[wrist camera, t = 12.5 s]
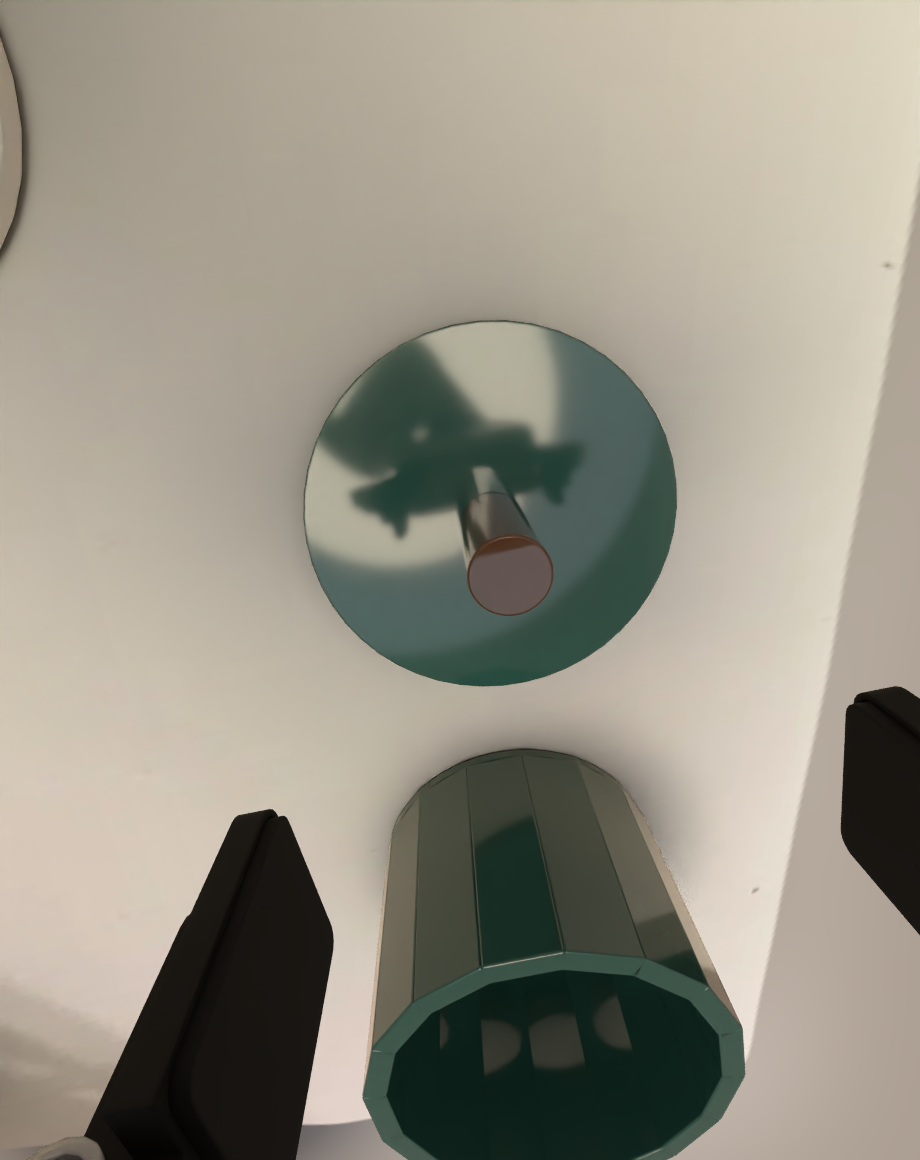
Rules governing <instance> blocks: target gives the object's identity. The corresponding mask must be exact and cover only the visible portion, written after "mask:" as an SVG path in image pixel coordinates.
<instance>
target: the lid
mask: <svg viewBox="0 0 920 1160" xmlns="http://www.w3.org/2000/svg"><path fill="white" fill-rule="evenodd" d="M676 509H677V494H676V478H675V471H674V464H673V458H672V455H671V452H670V448H669V445H668V442H667V438H666V435H665V433H664V431H663V429H662V426H661V424H660V422H659V420H658V418H657V415H656V413H655V412H654V410H653V409H652V407H651V405H650V404H649V402H648V401H647V399H646V398H645V396H644V395H643V393H642V392H641V390H640V389H639V388H638V387H637V386H636V385H635V383H634V382H633V381H632V380H631V379H630V378H629V377H628V375H627V374H626V373H625V372H624V371H623V370H621V369H620V368H619V367H618V366H617V365H616V364H614V363H613V362H612V361H611V360H610V359H609V358H607V357H606V356H605V355H603V354H602V353H600V352H599V351H597V350H596V349H594V348H592V347H591V346H589V345H588V344H586V343H584V342H583V341H581V340H578V339H576V338H574V337H571V336H569V335H567V334H565V333H562V332H560V331H557V330H554V329H550V328H547V327H543V326H539V325H536V324H532V323H524V322H516V321H508V320H490V321H473V322H467V323H461V324H455V325H450V326H447V327H444V328H440V329H437V330H434V331H431V332H428V333H425V334H423V335H420V336H418V337H416V338H414V339H412V340H410V341H408V342H406V343H404V344H402V345H400V346H398V347H397V348H395V349H394V350H392V351H391V352H389V353H388V354H386V355H385V356H383V357H382V358H380V359H379V360H377V361H376V362H375V363H374V364H373V365H372V366H370V367H369V368H368V369H367V370H366V371H365V372H364V373H363V374H361V375H360V376H359V377H358V378H357V379H356V380H355V381H354V383H353V384H352V385H351V386H350V387H349V388H348V390H347V391H346V392H345V393H344V394H343V395H342V397H341V398H340V399H339V401H338V402H337V404H336V405H335V407H334V409H333V410H332V412H331V413H330V415H329V416H328V418H327V420H326V421H325V423H324V426H323V428H322V430H321V432H320V434H319V437H318V439H317V441H316V443H315V446H314V449H313V453H312V456H311V459H310V463H309V466H308V470H307V477H306V483H305V490H304V526H305V534H306V542H307V546H308V550H309V553H310V557H311V561H312V565H313V567H314V570H315V572H316V575H317V577H318V580H319V582H320V584H321V587H322V588H323V590H324V592H325V594H326V595H327V597H328V599H329V601H330V602H331V604H332V606H333V607H334V608H335V610H336V611H337V612H338V614H339V615H340V616H341V618H342V619H343V620H344V622H345V623H346V624H347V625H348V626H349V627H350V628H351V629H352V630H353V631H354V632H355V633H356V634H357V635H358V636H359V637H360V639H361V640H363V641H364V642H365V643H366V644H368V645H369V646H370V647H371V648H373V649H374V650H375V651H377V652H378V653H379V654H381V655H382V656H384V657H386V658H387V659H389V660H390V661H392V662H394V663H395V664H397V665H399V666H401V667H403V668H406V669H408V670H410V671H412V672H414V673H417V674H419V675H422V676H426V677H429V678H432V679H435V680H438V681H443V682H448V683H453V684H459V685H470V686H503V685H510V684H516V683H523V682H527V681H531V680H535V679H538V678H542V677H546V676H548V675H551V674H553V673H556V672H558V671H561V670H563V669H566V668H568V667H570V666H571V665H573V664H575V663H577V662H579V661H581V660H583V659H585V658H586V657H588V656H589V655H591V654H592V653H593V652H595V651H596V650H598V649H599V648H601V647H602V646H604V645H605V644H606V643H607V642H608V641H609V640H610V639H612V638H613V637H614V636H615V635H616V634H617V633H618V632H620V631H621V630H622V628H623V627H624V626H625V625H626V624H627V623H628V622H629V621H630V620H631V619H632V617H633V616H634V615H635V614H636V613H637V611H638V610H639V609H640V607H641V606H642V604H643V603H644V601H645V600H646V599H647V597H648V596H649V594H650V592H651V590H652V589H653V587H654V585H655V583H656V581H657V579H658V577H659V576H660V573H661V571H662V568H663V566H664V563H665V560H666V558H667V555H668V552H669V548H670V544H671V540H672V536H673V533H674V526H675V517H676Z"/></svg>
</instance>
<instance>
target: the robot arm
mask: <svg viewBox="0 0 920 1160" xmlns="http://www.w3.org/2000/svg"><path fill="white" fill-rule="evenodd" d="M21 177H22V128H21V122H20V116H19V110H18V104H17V98H16V92H15V86H14V80H13V76H12V73H11V70H10V67H9V63H8V60H7V57H6V54H5V51H4V48H3V45H2V42H1V39H0V249H1V247H2V244H3V242H4V240H5V237H6V235H7V233H8V230H9V228H10V225H11V223H12V221H13V218H14V214H15V209H16V204H17V198H18V193H19V188H20V183H21ZM841 813H842V814H841V835H842V838H843V841H844V843H845V845H846V847H847V849H848V851H849V852H850V854H851V855H852V856H853V857H854V858H855V860H856V861H857V862H858V863H859V864H860V865H861V867H862V868H863V869H864V870H865V871H866V873H867V874H868V875H869V876H870V877H871V878H872V880H873V881H874V882H875V883H876V884H877V886H878V887H879V888H880V889H881V890H882V891H883V893H885V895H886V896H887V897H888V898H889V900H890V901H891V902H892V903H893V904H894V905H895V906H896V908H897V909H898V910H899V911H900V912H901V914H902V915H903V916H904V917H905V918H906V919H907V921H908V922H909V923H910V924H911V925H912V926H913V928H914V929H915V930H916V931H917V932H918V934H919V935H920V698H918V697H916V696H915V695H914V694H912V693H910V692H909V691H907V690H906V689H904V688H902V687H896V686H895V687H889V688H884V689H879V690H874V691H869V692H864V693H860V694H858V695H857V696H856V697H855V699H854V704H852V705H849V706H848V708H847V710H846V722H845V744H844V768H843V791H842V812H841ZM333 943H334V940H333V931H332V926H331V923H330V921H329V919H328V916H327V914H326V911H325V909H324V906H323V904H322V901H321V899H320V897H319V894H318V892H317V889H316V887H315V884H314V882H313V879H312V877H311V874H310V872H309V870H308V867H307V865H306V862H305V860H304V857H303V855H302V852H301V850H300V848H299V845H298V843H297V840H296V838H295V835H294V833H293V830H292V828H291V826H290V823H289V821H288V819H287V818H286V817H285V816H280V817H278V815H277V814H276V812H275V811H274V810H273V809H268V810H263V811H258V812H253V813H248V814H243V815H238V816H237V817H235V819H234V820H233V822H232V824H231V826H230V828H229V830H228V832H227V835H226V837H225V839H224V841H223V843H222V846H221V848H220V850H219V852H218V855H217V857H216V859H215V861H214V863H213V866H212V868H211V870H210V872H209V874H208V877H207V879H206V881H205V883H204V885H203V888H202V890H201V892H200V894H199V896H198V899H197V901H196V903H195V905H194V907H193V910H192V912H191V914H190V915H189V916H187V917H186V919H185V920H184V922H183V924H182V925H181V927H180V929H179V931H178V933H177V936H176V938H175V940H174V942H173V944H172V946H171V949H170V951H169V953H168V955H167V957H166V959H165V962H164V964H163V966H162V968H161V970H160V972H159V975H158V977H157V979H156V981H155V983H154V985H153V988H152V990H151V992H150V994H149V996H148V998H147V1001H146V1003H145V1005H144V1007H143V1009H142V1011H141V1014H140V1016H139V1018H138V1020H137V1022H136V1025H135V1027H134V1029H133V1031H132V1033H131V1035H130V1038H129V1040H128V1042H127V1044H126V1046H125V1048H124V1051H123V1053H122V1055H121V1057H120V1059H119V1061H118V1064H117V1066H116V1068H115V1070H114V1072H113V1074H112V1077H111V1079H110V1081H109V1083H108V1085H107V1087H106V1090H105V1092H104V1094H103V1096H102V1098H101V1100H100V1103H99V1105H98V1107H97V1109H96V1111H95V1114H94V1116H93V1118H92V1120H91V1122H90V1124H89V1127H88V1129H87V1131H86V1133H85V1135H84V1136H80V1137H66V1138H64V1139H62V1140H59V1141H57V1142H55V1143H52V1144H50V1145H48V1146H45V1147H44V1148H42V1149H41V1150H40V1151H38V1152H37V1153H35V1154H34V1155H33V1156H31V1157H30V1158H28V1159H27V1160H296V1155H297V1149H298V1144H299V1138H300V1132H301V1127H302V1121H303V1116H304V1110H305V1105H306V1099H307V1093H308V1088H309V1082H310V1077H311V1071H312V1066H313V1060H314V1054H315V1049H316V1043H317V1038H318V1032H319V1026H320V1021H321V1015H322V1010H323V1004H324V999H325V993H326V987H327V982H328V976H329V971H330V965H331V960H332V954H333Z"/></svg>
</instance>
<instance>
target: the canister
mask: <svg viewBox="0 0 920 1160" xmlns="http://www.w3.org/2000/svg"><path fill="white" fill-rule="evenodd" d="M744 1076H745V1060H744V1043H743V1028H742V1026H741V1024H740V1021H739V1019H738V1017H737V1015H736V1013H735V1011H734V1009H733V1006H732V1004H731V1002H730V1000H729V998H728V996H727V993H726V991H725V989H724V987H723V985H722V983H721V981H720V978H719V976H718V974H717V972H716V970H715V968H714V965H713V963H712V961H711V959H710V957H709V955H708V953H707V950H706V948H705V946H704V944H703V942H702V940H701V937H700V935H699V933H698V931H697V929H696V927H695V925H694V922H693V920H692V918H691V916H690V914H689V912H688V909H687V907H686V905H685V903H684V901H683V899H682V897H681V894H680V892H679V890H678V888H677V886H676V884H675V881H674V879H673V877H672V875H671V873H670V871H669V869H668V866H667V864H666V862H665V860H664V858H663V856H662V853H661V851H660V849H659V847H658V845H657V843H656V841H655V838H654V836H653V834H652V832H651V830H650V828H649V825H648V823H647V821H646V819H645V818H644V816H643V815H642V814H641V812H640V811H639V810H638V807H637V806H636V804H635V802H634V801H633V799H632V798H631V796H630V794H629V793H628V792H627V791H626V790H625V789H624V788H623V786H622V785H621V784H620V783H619V782H617V781H616V780H615V779H614V778H613V777H611V776H610V775H609V774H607V773H606V772H604V771H603V770H601V769H599V768H598V767H596V766H594V765H592V764H590V763H588V762H586V761H583V760H581V759H578V758H575V757H572V756H569V755H565V754H561V753H556V752H550V751H541V750H510V751H503V752H497V753H491V754H487V755H484V756H480V757H476V758H473V759H471V760H468V761H465V762H463V763H460V764H458V765H456V766H454V767H452V768H450V769H448V770H446V771H444V772H443V773H441V774H440V775H438V776H437V777H435V778H434V779H432V780H431V781H430V782H428V783H427V784H426V785H425V786H424V787H423V788H422V789H420V790H419V791H418V792H417V793H416V794H415V795H414V797H413V798H412V799H411V800H410V801H409V802H408V804H407V805H406V806H405V808H404V810H403V811H402V813H401V814H400V816H399V818H398V820H397V822H396V824H395V827H394V829H393V832H392V835H391V839H390V843H389V853H388V858H387V864H386V870H385V879H384V889H383V899H382V909H381V918H380V928H379V938H378V948H377V957H376V967H375V977H374V987H373V996H372V1006H371V1016H370V1026H369V1035H368V1045H367V1055H366V1065H365V1075H364V1084H363V1094H362V1095H363V1101H364V1103H365V1105H366V1107H367V1109H368V1111H369V1113H370V1116H371V1118H372V1120H373V1122H374V1124H375V1126H376V1128H377V1131H378V1133H379V1135H380V1137H381V1139H382V1140H383V1142H384V1143H386V1144H387V1145H388V1146H390V1147H391V1148H393V1149H394V1150H395V1151H397V1152H398V1153H399V1154H401V1155H402V1156H403V1157H405V1158H406V1159H408V1160H667V1159H669V1158H672V1157H673V1156H675V1155H677V1154H678V1153H679V1152H681V1151H682V1150H683V1149H684V1148H686V1147H687V1146H688V1145H689V1144H691V1143H692V1142H693V1141H695V1140H696V1139H697V1138H698V1137H700V1136H701V1135H702V1134H703V1133H705V1132H706V1131H707V1130H708V1129H710V1128H711V1127H712V1126H713V1125H714V1124H716V1123H717V1122H718V1121H719V1120H720V1119H721V1118H722V1116H723V1115H724V1113H725V1111H726V1109H727V1108H728V1106H729V1104H730V1102H731V1100H732V1099H733V1097H734V1095H735V1093H736V1091H737V1089H738V1088H739V1086H740V1084H741V1082H742V1081H743V1079H744Z"/></svg>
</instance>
